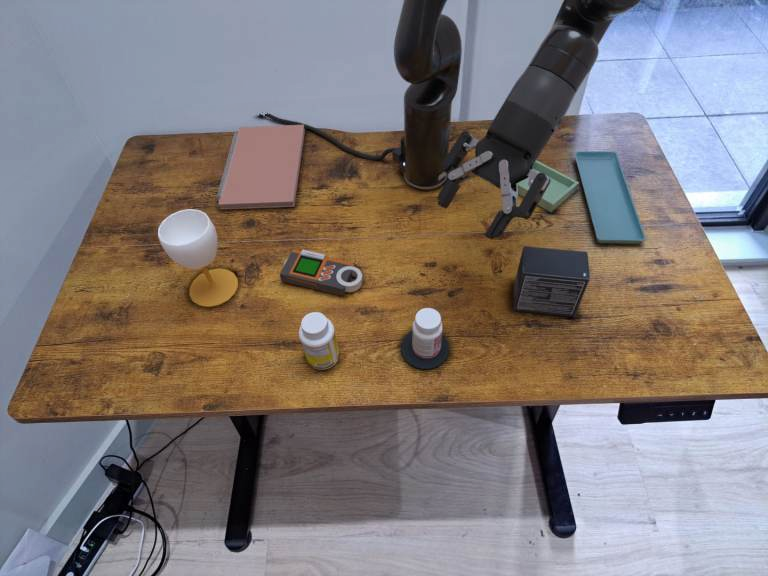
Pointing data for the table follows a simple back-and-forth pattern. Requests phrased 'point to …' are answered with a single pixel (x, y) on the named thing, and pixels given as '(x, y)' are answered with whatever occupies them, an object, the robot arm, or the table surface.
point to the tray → (551, 187)
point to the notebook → (262, 168)
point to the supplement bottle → (319, 341)
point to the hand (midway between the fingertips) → (464, 221)
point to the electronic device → (320, 272)
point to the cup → (197, 255)
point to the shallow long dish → (609, 198)
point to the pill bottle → (427, 333)
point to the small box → (550, 281)
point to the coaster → (419, 361)
